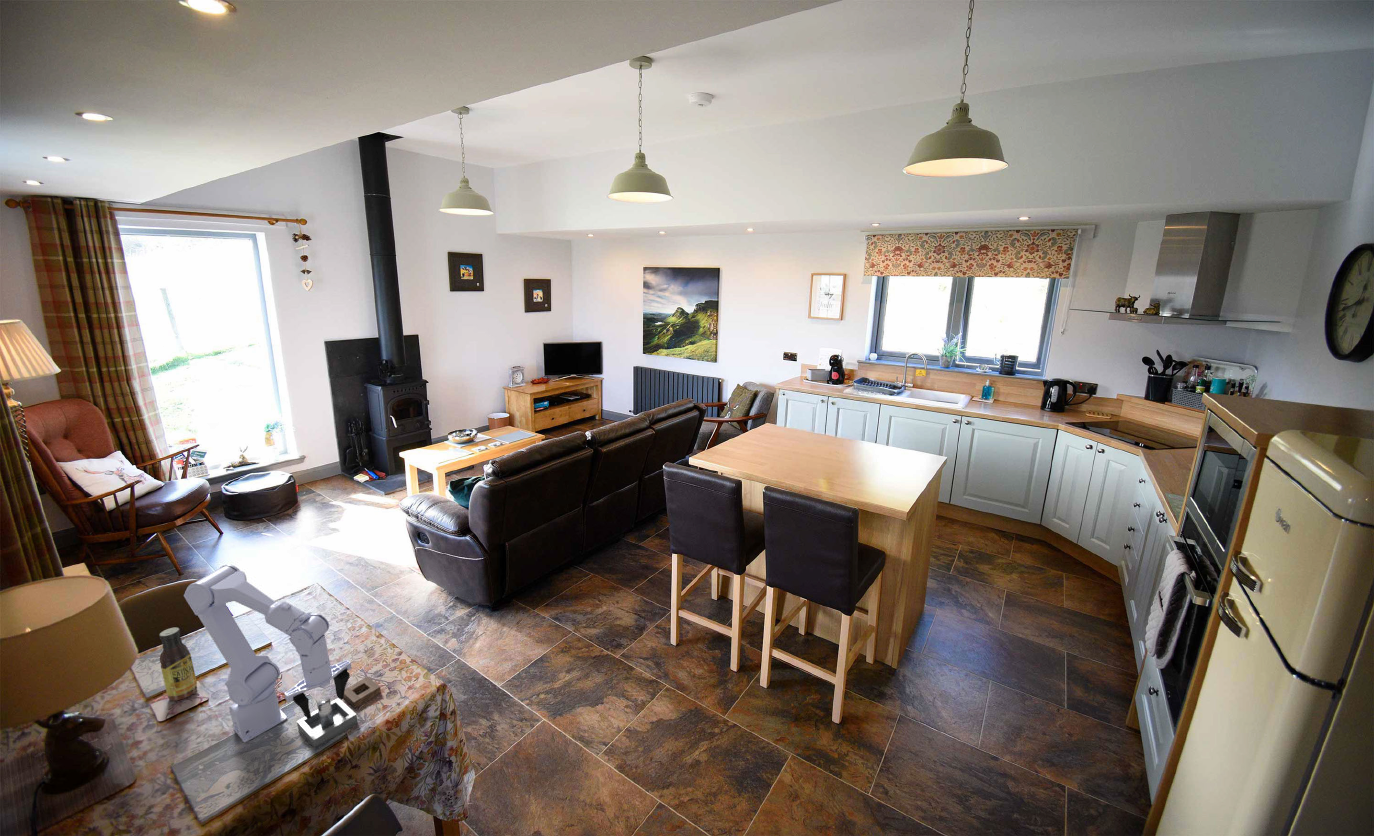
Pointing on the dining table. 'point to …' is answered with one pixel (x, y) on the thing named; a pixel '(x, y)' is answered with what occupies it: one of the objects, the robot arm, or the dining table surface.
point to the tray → (321, 736)
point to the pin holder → (358, 700)
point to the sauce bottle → (176, 666)
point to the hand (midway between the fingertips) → (324, 706)
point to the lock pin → (325, 713)
